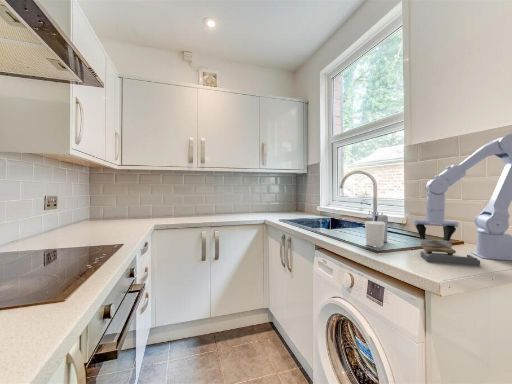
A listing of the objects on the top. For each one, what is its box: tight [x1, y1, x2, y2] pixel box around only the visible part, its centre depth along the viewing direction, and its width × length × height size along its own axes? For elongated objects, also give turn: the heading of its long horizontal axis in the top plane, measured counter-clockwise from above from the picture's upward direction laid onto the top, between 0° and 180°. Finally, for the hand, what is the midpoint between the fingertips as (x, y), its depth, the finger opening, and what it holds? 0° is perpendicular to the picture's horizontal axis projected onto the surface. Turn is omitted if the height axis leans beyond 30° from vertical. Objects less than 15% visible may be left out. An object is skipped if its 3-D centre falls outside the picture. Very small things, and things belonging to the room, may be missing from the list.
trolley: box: [420, 238, 457, 256], centre depth 93 cm, size 10×5×4 cm, turn 73°
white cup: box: [364, 220, 386, 248], centre depth 105 cm, size 8×8×10 cm
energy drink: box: [374, 214, 389, 243], centre depth 113 cm, size 5×5×12 cm
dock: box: [418, 250, 481, 267], centre depth 87 cm, size 15×11×3 cm
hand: (434, 243), depth 96 cm, fingers open, 7 cm apart
